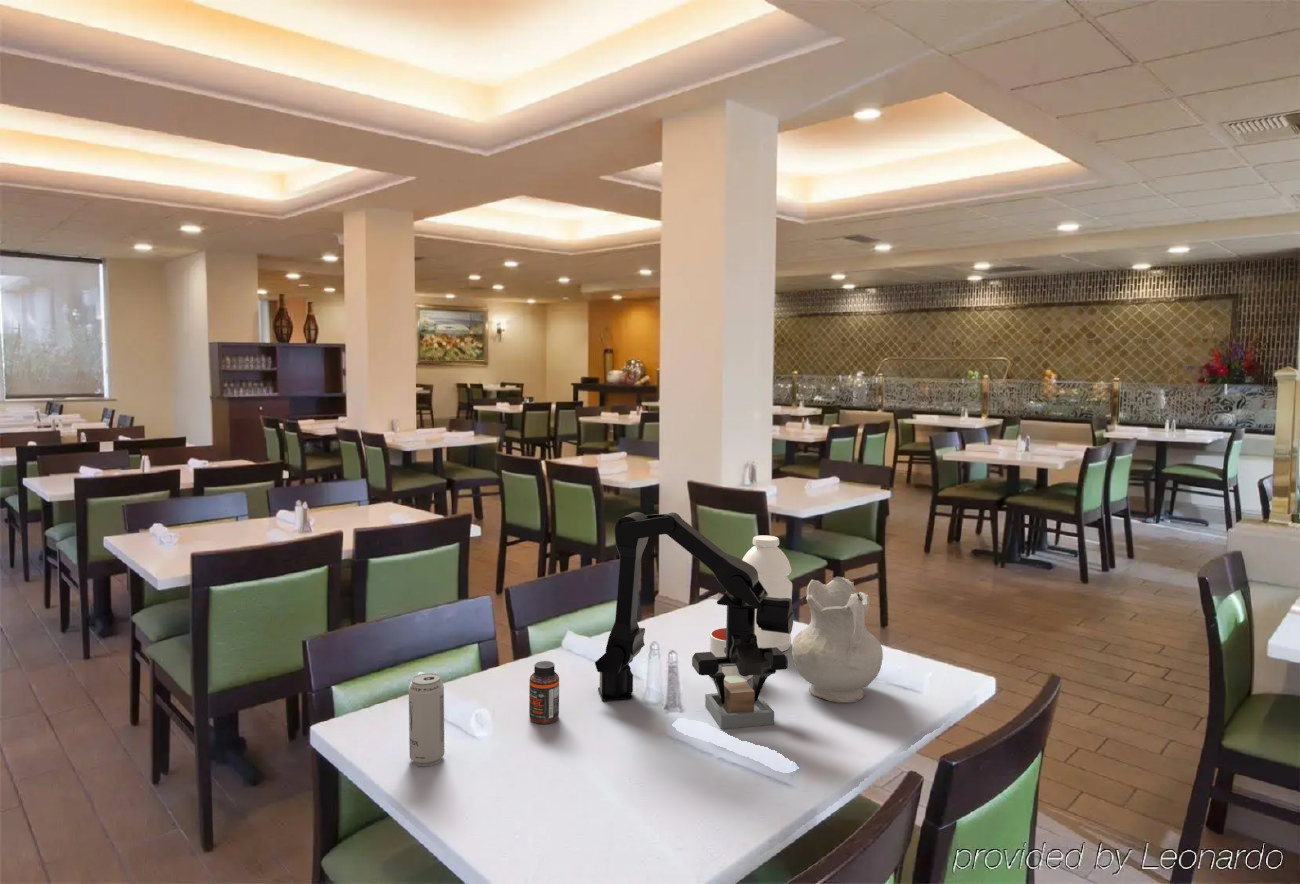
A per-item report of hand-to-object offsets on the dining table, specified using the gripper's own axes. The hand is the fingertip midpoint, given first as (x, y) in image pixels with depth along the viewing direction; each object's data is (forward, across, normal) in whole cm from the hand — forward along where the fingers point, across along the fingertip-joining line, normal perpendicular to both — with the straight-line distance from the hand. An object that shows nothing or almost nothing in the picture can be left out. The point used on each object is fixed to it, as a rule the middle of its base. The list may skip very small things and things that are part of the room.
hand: (738, 701), depth 163 cm
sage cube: (+3, +2, +9) cm, 10 cm away
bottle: (+3, +20, +39) cm, 44 cm away
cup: (+3, +5, +20) cm, 21 cm away
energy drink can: (+3, -61, -7) cm, 61 cm away
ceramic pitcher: (+3, +25, +6) cm, 26 cm away
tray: (+3, 0, 0) cm, 3 cm away
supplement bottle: (+3, -39, +6) cm, 40 cm away
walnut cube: (+2, 0, 0) cm, 2 cm away
